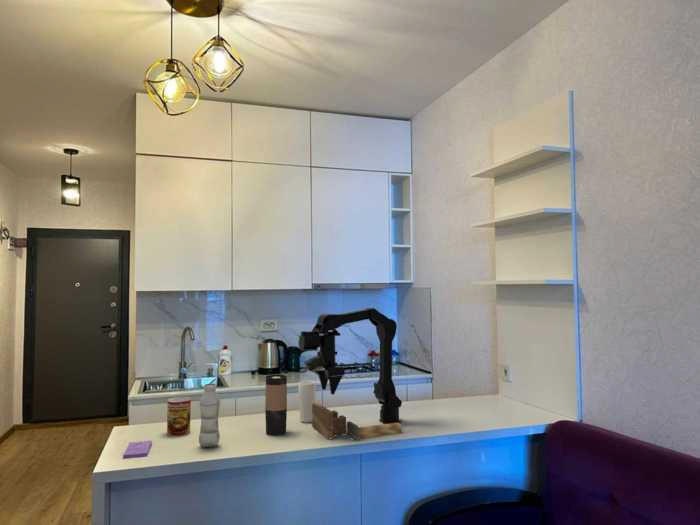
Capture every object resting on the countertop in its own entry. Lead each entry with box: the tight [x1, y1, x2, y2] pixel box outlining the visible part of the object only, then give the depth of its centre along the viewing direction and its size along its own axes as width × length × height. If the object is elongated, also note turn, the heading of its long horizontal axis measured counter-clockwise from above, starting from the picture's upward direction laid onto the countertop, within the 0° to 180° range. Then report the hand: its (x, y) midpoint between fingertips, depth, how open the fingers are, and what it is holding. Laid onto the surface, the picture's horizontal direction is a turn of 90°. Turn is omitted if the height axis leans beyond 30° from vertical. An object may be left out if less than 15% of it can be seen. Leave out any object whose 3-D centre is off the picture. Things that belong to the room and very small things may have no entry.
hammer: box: [346, 420, 403, 442], centre depth 174 cm, size 19×6×5 cm, turn 113°
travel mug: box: [264, 374, 288, 437], centre depth 178 cm, size 8×8×20 cm
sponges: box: [122, 440, 153, 459], centre depth 158 cm, size 7×13×2 cm, turn 16°
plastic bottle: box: [198, 383, 221, 448], centre depth 163 cm, size 6×7×20 cm
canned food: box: [166, 396, 192, 437], centre depth 178 cm, size 8×8×12 cm
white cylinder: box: [297, 380, 317, 424], centre depth 193 cm, size 7×7×15 cm
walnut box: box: [311, 402, 347, 440], centre depth 178 cm, size 8×16×9 cm, turn 23°
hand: (328, 391), depth 180 cm, fingers open, 9 cm apart
